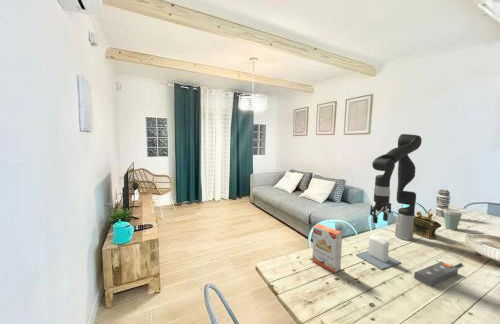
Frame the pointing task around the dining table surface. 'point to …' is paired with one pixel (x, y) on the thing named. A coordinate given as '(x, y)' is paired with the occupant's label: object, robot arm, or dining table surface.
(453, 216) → the disposable coffee cup
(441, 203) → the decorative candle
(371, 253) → the photo printer
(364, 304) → the dining table surface
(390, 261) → the rubber mat
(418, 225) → the decorative box
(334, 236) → the cracker box
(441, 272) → the power strip
